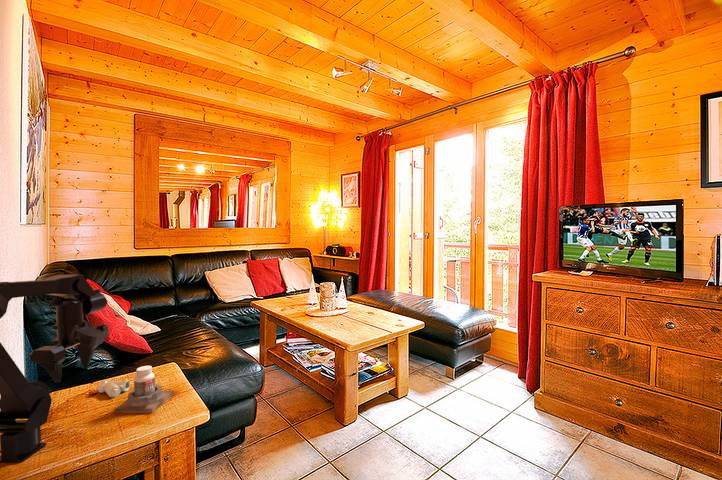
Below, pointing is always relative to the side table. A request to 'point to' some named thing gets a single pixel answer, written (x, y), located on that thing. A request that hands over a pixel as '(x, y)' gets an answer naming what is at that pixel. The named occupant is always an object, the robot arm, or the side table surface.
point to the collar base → (145, 408)
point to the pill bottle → (144, 381)
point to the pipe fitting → (114, 387)
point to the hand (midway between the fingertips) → (72, 374)
